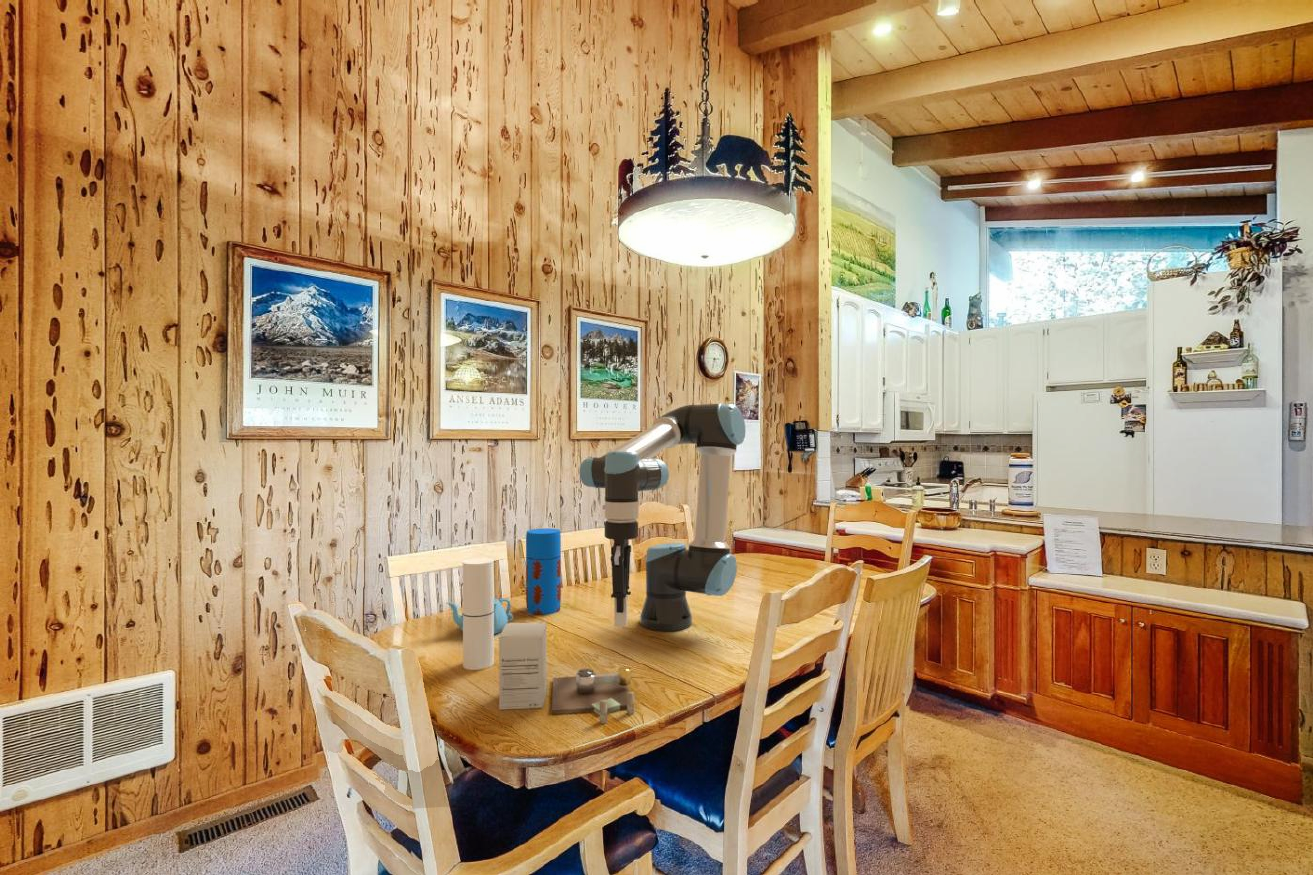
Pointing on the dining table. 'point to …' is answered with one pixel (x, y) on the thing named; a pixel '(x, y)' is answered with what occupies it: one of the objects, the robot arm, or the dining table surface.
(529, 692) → the supplement box
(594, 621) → the dining table surface
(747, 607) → the dining table surface
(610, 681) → the crank handle
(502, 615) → the teapot
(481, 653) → the cylindrical container
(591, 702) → the dial board
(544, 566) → the thermos
